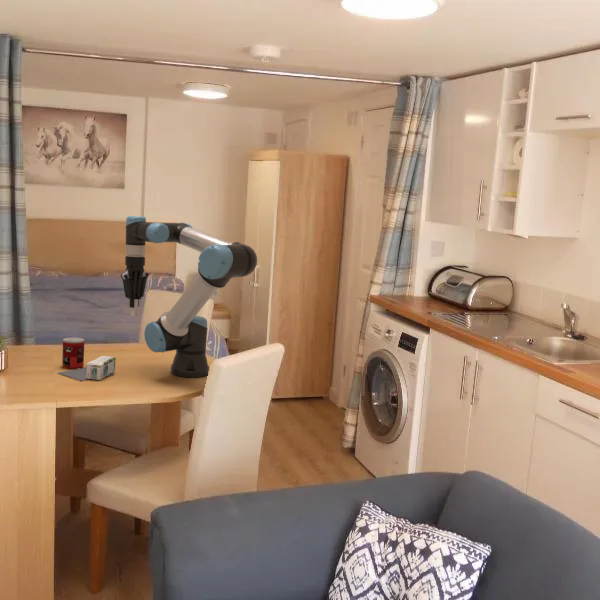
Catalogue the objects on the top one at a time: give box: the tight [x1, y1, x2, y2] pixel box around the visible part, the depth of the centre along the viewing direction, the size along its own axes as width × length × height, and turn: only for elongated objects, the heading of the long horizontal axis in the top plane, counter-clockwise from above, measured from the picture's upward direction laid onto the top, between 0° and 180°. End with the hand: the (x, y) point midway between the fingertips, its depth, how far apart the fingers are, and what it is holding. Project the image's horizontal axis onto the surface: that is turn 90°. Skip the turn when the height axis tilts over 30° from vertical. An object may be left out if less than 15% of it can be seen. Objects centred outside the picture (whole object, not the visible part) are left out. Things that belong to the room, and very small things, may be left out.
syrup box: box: [85, 355, 117, 381], centre depth 276 cm, size 6×6×14 cm
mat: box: [58, 367, 115, 382], centre depth 277 cm, size 14×15×1 cm
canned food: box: [61, 337, 85, 370], centre depth 286 cm, size 8×8×11 cm
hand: (134, 315), depth 289 cm, fingers closed
